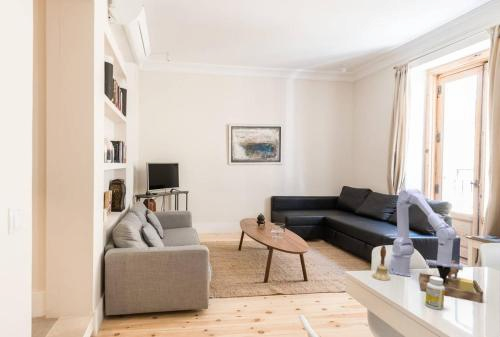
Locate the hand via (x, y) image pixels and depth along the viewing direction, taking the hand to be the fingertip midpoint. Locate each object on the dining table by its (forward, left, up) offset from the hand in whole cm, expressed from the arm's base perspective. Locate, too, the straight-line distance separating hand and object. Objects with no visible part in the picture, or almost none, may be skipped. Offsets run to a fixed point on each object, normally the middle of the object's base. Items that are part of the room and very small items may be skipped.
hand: (442, 282), depth 151 cm
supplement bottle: (-5, -24, -3) cm, 25 cm away
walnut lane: (+2, 0, -3) cm, 4 cm away
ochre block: (+9, 0, -1) cm, 9 cm away
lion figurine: (+5, +18, -3) cm, 19 cm away
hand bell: (-26, 0, -3) cm, 26 cm away
